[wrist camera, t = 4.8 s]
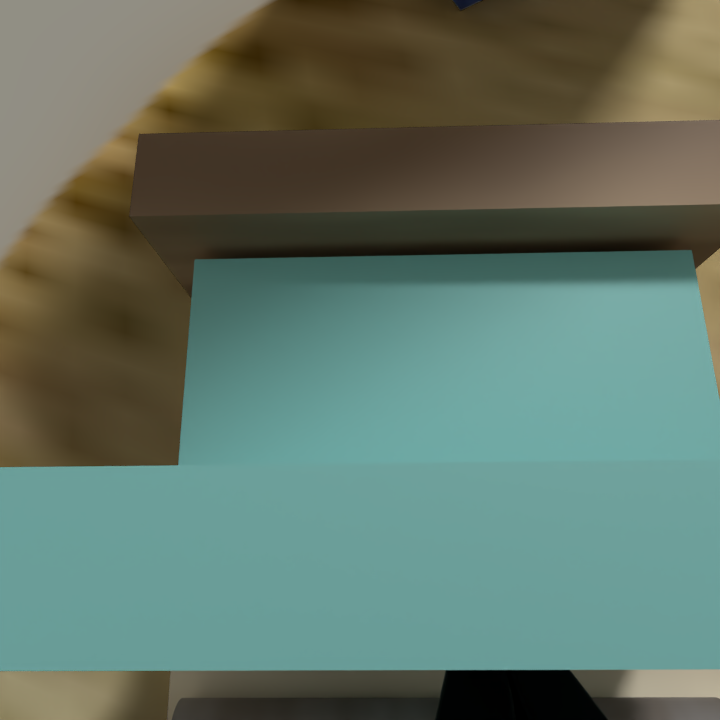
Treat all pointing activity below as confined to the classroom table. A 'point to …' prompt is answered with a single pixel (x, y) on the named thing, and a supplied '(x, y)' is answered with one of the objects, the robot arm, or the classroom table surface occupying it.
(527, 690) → the robot arm
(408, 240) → the roller track
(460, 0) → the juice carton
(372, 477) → the teal l-shaped block
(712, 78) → the classroom table surface
